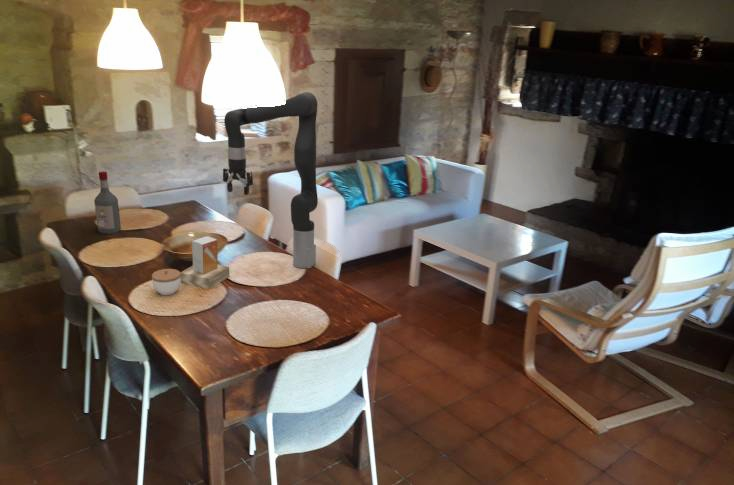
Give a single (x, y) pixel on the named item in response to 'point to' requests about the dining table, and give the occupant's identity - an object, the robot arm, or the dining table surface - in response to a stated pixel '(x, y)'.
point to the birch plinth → (205, 277)
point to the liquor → (107, 208)
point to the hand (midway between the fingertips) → (238, 193)
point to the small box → (204, 254)
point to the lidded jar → (166, 281)
